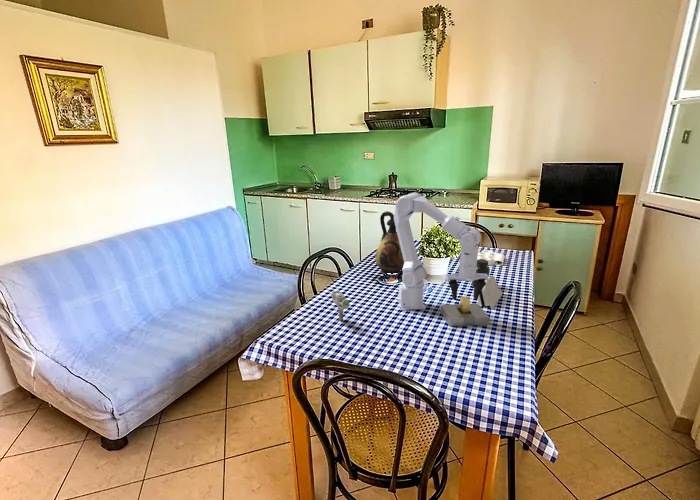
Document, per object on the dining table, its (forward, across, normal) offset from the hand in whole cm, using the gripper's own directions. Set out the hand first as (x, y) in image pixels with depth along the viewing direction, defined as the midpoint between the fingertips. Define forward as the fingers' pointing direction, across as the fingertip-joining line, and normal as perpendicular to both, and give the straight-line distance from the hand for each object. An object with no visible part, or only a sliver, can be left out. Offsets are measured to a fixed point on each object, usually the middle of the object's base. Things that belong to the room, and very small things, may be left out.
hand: (465, 298), depth 132 cm
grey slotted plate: (+8, 0, 0) cm, 8 cm away
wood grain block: (+8, 0, 0) cm, 8 cm away
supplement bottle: (+8, +17, +28) cm, 34 cm away
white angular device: (+8, +15, +15) cm, 23 cm away
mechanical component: (+8, -45, +2) cm, 46 cm away
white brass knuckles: (+8, +35, +61) cm, 70 cm away
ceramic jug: (+8, -20, +49) cm, 53 cm away
